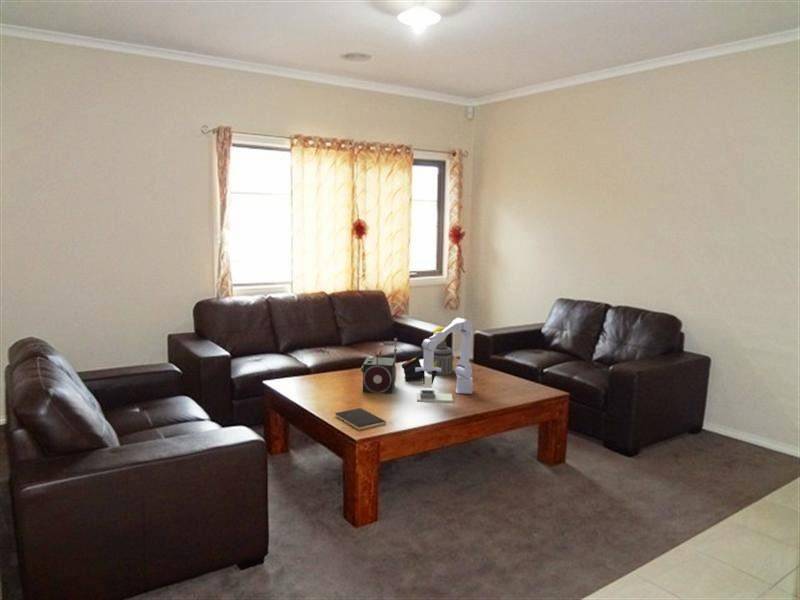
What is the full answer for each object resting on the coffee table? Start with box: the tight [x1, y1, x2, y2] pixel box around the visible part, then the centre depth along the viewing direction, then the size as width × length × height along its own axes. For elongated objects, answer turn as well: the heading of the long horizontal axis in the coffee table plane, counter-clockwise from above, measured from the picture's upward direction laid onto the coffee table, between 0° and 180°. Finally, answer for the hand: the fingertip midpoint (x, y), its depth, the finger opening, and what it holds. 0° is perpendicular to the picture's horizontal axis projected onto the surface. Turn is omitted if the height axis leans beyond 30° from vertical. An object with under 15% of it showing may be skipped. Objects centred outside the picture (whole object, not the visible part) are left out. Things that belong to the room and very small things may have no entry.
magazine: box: [401, 356, 423, 383], centre depth 370 cm, size 4×13×15 cm, turn 110°
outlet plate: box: [416, 389, 454, 403], centre depth 337 cm, size 20×12×4 cm, turn 89°
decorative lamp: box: [426, 326, 455, 376], centre depth 391 cm, size 19×19×30 cm
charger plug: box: [423, 375, 433, 389], centre depth 336 cm, size 4×4×6 cm
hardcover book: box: [335, 407, 387, 431], centre depth 300 cm, size 16×23×2 cm
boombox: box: [360, 337, 398, 395], centre depth 350 cm, size 18×21×30 cm
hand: (427, 383), depth 336 cm, fingers closed on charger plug, 4 cm apart
